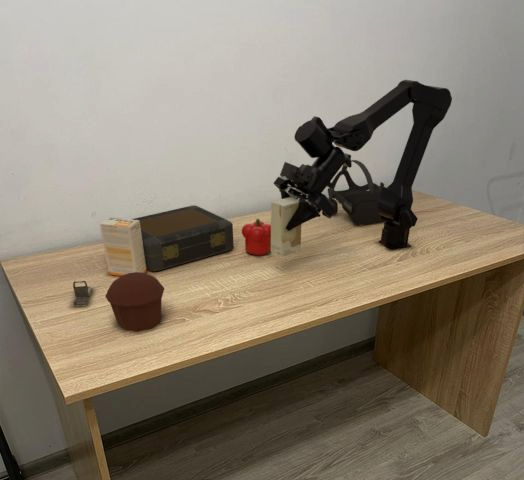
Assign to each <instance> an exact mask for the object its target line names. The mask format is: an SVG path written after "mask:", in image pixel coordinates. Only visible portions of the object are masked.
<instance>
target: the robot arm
mask: <svg viewBox="0 0 524 480" xmlns="http://www.w3.org/2000/svg"><path fill="white" fill-rule="evenodd" d="M452 101H453V97H452V93H451V91H450V89H449V88H447V87H441V86H434V85H425V84H423V83H421V82H420V81H418V80H413V79H403V80H401V81H399V82H398V84H397V85H396V86H394V88H393V89H391V90H390V91H388V92H387V93H385V94H384V95H383V96H382V97H380V98H379V99H377V100H376V101H374V103H373V104H371V105H370V106H368V107H367V108H366V109H364V110H363V111H361V112H359V113H356V114H352V115H349V116H347V117H344V118H343V119H341V120H339V121H337V122H336V123H335V124H334V126H331V127H327V126H326V125H325V124H324V121H323V119H322V118H321V117H320V116H315V115H313V117H312V118H311V119H310V120H307V121H306V122H304V123H303V124H301V125H299V127H298V128H297V129H296V131H295V133H294V141H295V142H296V143H297V144H298V145H299V146H300V147H301V149H302V150H303V151H304V152H305V153H306V154H307V155H308V157H310V158H311V159H315V160H314V161H313V162H312V164H311V165H310V164H308V163H307V164H304V163H302V164H301V165H300V166H296V165H294V164H292V163H289V162H286V161H284V163H283V165H282V168H281V170H280V173H279V176H278V177H276V179H275V180H274V181H273V185H274V186H275V187H276V188H277V189H278V191H279V192H280V196H281V197H280V199H285V198H289V197H292V198H295V199H298V200H299V205H298V208H297V210H296V211H295V213H294V215H293V216H292V218H291V219H290V221H289V222H288V224H287V226H286V229H287V230H288V231H290V230H291V229H293V228H295V227H297V226H299V225H301V226H302V224H304V223H307V222H309V221H310V220H314V219H315V218H320V217H321V216H322V215H323V216H324V217H326V218H327V219H332V217H333V216H334V215H333V214H334V213H335V205H334V204H333V203H332V202H331V201H330V200H329V197H327V196H326V195H325V194H324V193H323V192H324V191H325V190H326V188H331V186H332V185H333V184H332V181H333V179H334V178H335V176H336V175H337V174H338V173H339V172H340V171H339V170H341V169H342V167H343V166H346V167H347V168H349V169H350V168H352V166H353V162H351V160H352V155H351V154H350V153H345V151H343V149H345V150H348V151H352V152H358V151H360V150H361V149H363V147H364V146H366V144H367V143H368V142H369V141H370V140H371V139H372V137H373V134H374V132H375V131H376V130H377V129H378V128H379V127H380V126H381V125H383V124H384V123H385V122H387V121H388V120H389V119H391V118H392V117H393V116H395V115H396V114H397V113H399V112H400V111H402V109H404V108H406V106H408V105H409V104H410V103H411V104H412V108H411V113H412V114H411V115H412V120H413V124H412V127H411V130H410V132H409V135H408V138H407V141H406V144H405V147H404V149H403V153H402V155H401V158H400V161H399V164H398V166H397V170H396V171H395V175H394V177H393V180H392V182H391V183H390V184H389V185H388V186H386V187H385V186H384V187H382V189H381V192H380V196H379V198H378V200H377V202H378V204H377V210H378V212H379V214H380V219H381V220H383V221H385V222H383V228H382V229H381V234H380V235H381V236H380V239H379V240H378V243H379V244H380V245H381V246H383V247H385V248H386V249H388V250H389V251H396V250H401V249H408V248H412V245H411V243H409V237H410V231H411V229H412V228H413V227H415V226H416V224H417V222H418V216H417V215H416V214H415V213H414V211H413V210H412V207H413V202H414V196H413V185H414V183H415V179H416V177H417V174H418V171H419V168H420V166H421V164H422V161H423V158H424V155H425V153H426V150H427V147H428V146H429V145H428V144H429V141H430V139H431V137H432V134H433V131H434V129H435V128H436V127H437V126H438V125H439V124H440V123H441V122H442V121H443V120H444V119H445V117H446V115H447V113H448V111H449V109H450V108H451V105H452ZM320 213H321V214H322V215H321V214H320Z"/></svg>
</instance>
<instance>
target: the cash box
mask: <svg viewBox="0 0 524 480" xmlns="http://www.w3.org/2000/svg"><path fill="white" fill-rule="evenodd" d="M131 220H139V221H140V228H141V235H142V242H143V248H144V255H145V262H146V269H147V270H148V271H150V272H158V271H159V272H160V271H163V270H167V269H171V268H173V267H177V266H181V265H184V264H187V263H190V262H191V263H192V262H194V261H198V260H201V259H204V258H209V257H211V256H216V255H219V254H222V253H225V252H230V251H231V250H233V249H234V224H233V222H232V221H231V220H228V219H227V218H224V217H223V216H220V215H218V214H215V213H213V212H211V211H209V210H207V209H205V208H203V207H200V206H198V205H196V204H195V205H194V204H193V205H189V206H183V207H179V208H174V209H170V210H167V211H162V212H156V213H153V214H149V215H145V216H144V215H143V216H139V217H135V218H131Z"/></svg>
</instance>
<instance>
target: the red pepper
mask: <svg viewBox="0 0 524 480" xmlns="http://www.w3.org/2000/svg"><path fill="white" fill-rule="evenodd" d="M241 236H243V238H244V247H245V248H244V249H245V251H246V252H247V253H248V254H249V255H252V256H255V257H256V256H264V255H267V254H268V253H269V252H271V223H265V222H264V221H262V220H260V218H256V219H255V221H254V222H253V223H246V224H244V225H243V226H242V228H241Z"/></svg>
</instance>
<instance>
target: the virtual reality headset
mask: <svg viewBox="0 0 524 480" xmlns="http://www.w3.org/2000/svg"><path fill="white" fill-rule="evenodd" d="M351 162H352V163H354V164H356V165H357V166H358V167H359V168H360V169H361V171H362V173H363V174H364V177H365V180H366V184H363V185H358V184H356V182H355V181H354V180H353V178H352V176H351V174H350V172H349V170H348V167H346V166H343V165H342V167H341V169H340V171H338V172H337V173H336V175H335V176H334V177H333V179H332V180H331V183H332V184H333V185H332V186H331V188H329V187H327V194H328V199H329V200H330V201H331V202H332V203H333V204H334V205H335V213H334V214H333V216H334V215H336V214H337V213H338V209H339V205H338V202H339V204H340V205H341V207H342V210H343V211H344V212H345V213H346V214H347V215H348V216H349V217H350V218H351V220H352V222H353V223H354V224H355V225H356V226H368V225H377V224H384V222H385V221H383V220H381V219H380V214H379V212H378V210H377V204H378V202H377V200H378V198H379V196H380V192H381V189H382V187H385V183H383V182H382V181H381V182H380V183H379V185H378V184H377V183H375V182H374V181H373V178H372V174H371V173H370V171H369V169H368V167H366V165H365V164H364V163H363V162H362V161H359V160H357V159H351ZM342 176H344V179H345V181H346V183H347V186H348V189H343V190H335V188H336V186H337V183H338V181H339V179H340V177H342Z"/></svg>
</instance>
